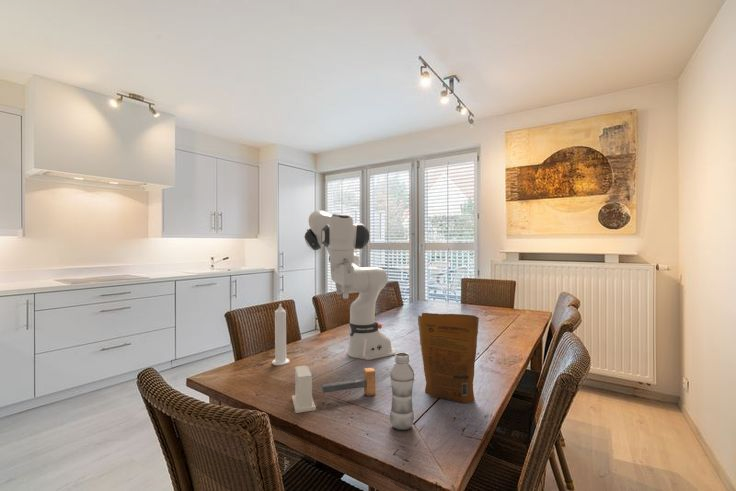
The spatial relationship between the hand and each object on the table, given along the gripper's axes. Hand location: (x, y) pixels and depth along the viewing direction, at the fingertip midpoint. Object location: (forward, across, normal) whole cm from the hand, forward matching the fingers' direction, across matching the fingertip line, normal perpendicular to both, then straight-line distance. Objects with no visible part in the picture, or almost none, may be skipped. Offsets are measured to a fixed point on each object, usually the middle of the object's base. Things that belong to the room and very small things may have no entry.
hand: (342, 296), depth 126 cm
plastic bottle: (+31, -35, -8) cm, 48 cm away
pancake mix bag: (+31, -24, -30) cm, 49 cm away
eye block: (+31, -13, +16) cm, 37 cm away
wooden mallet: (+31, -13, +1) cm, 34 cm away
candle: (+31, +27, +20) cm, 46 cm away
